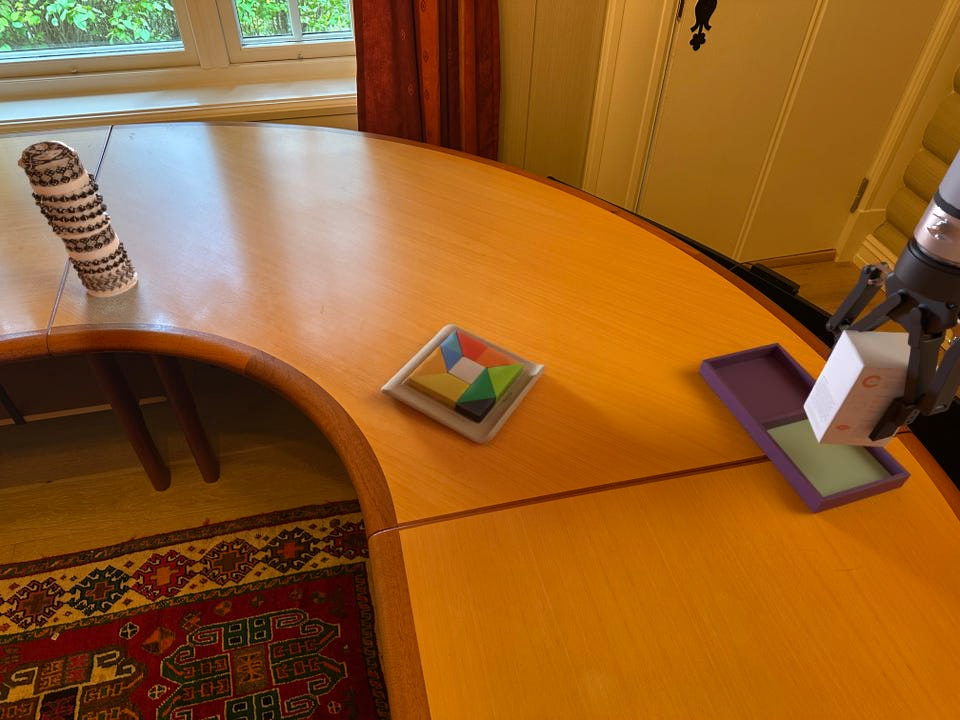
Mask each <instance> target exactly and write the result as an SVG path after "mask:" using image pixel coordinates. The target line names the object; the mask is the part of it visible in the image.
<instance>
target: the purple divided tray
mask: <svg viewBox="0 0 960 720" xmlns="http://www.w3.org/2000/svg"><path fill="white" fill-rule="evenodd" d="M698 374H699V375H700V376H701V378H702V379H703V381H705V382H706V384H707V385H708V386H709V387H710V389H711V390H712V391H713V392H714V393H715V395H716V396H717V397H718V398H719V400H720V401H721V402H722V403H723V405H724V406H725V407H726V408H727V409H728V411H729V412H730V413H731V414H732V416H734V418H735V419H736V420H737V422H738V423H739V424H740V425H741V426H742V428H743V429H744V430H745V431H746V432H747V434H748V435H749V436H750V437H751V438H752V440H753V441H754V442H755V443H756V445H757V446H758V447H759V448H760V450H762V452H763V453H764V454H765V456H766V457H767V458H768V459H769V461H771V463H772V464H773V465H774V467H775V468H776V469H777V470H778V471H779V473H780V474H781V475H782V476H783V478H785V480H786V481H787V482H788V484H789V485H790V486H791V487H792V489H793V490H794V491H795V492H796V493H797V495H798V496H799V497H800V498H801V499H802V501H803V502H804V503H805V504H806V506H807V507H808V508H809V509H810V510H811V512H812V513H813V514H819V513H821V512H825V511H828V510H832V509H835V508H838V507H841V506H844V505H849V504H850V503H851V504H852V503H855V502H858V501H861V500H864V499H867V498H870V497H873V496H877V495H880V494H883V493H886V492H889V491H892V490H896V489H900V488H901V487H903V486H904V484H905V483H906V482H907V481H908V480H909V478H910V477H911V476H912V474H911V473H910V472H909V471H908V470H907V469H906V468H905V467H904V466H903V464H901V463H900V462H899V461H898V460H897V459H896V458H895V457H894V456H893V455H892V454H891V453H890V452H889V451H888V450H887V449H886V447H877V446H858V445H839V444H820V443H819V442H818V440H817V437H816V435H815V433H814V431H813V428H812V426H811V423H810V421H809V419H808V416H807V414H806V412H805V409H804V404H805V402H806V400H807V399H808V397H809V395H810V393H811V391H812V389H813V387H814V385H815V384H816V382H817V379H815V378H814V377H813V376H812V374H810V372H808V370H806V369H805V368H804V366H803V365H801V364H800V363H799V362H798V361H797V359H795V358H794V357H793V356H792V355H791V354H790V353H789V352H788V351H787V350H786V349H785V348H784V347H783V346H782V345H781V343H779V342H774V343H769V344H765V345H761V346H756V347H752V348H748V349H744V350H739V351H734V352H730V353H726V354H723V355H718V356H712V357H709V358H705V359H702V361H701V363H700V366H699V370H698Z"/></svg>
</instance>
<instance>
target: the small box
mask: <svg viewBox="0 0 960 720" xmlns="http://www.w3.org/2000/svg"><path fill="white" fill-rule="evenodd" d="M908 336H909V333H908V332H896V331H895V332H893V331H864V332H859V331H850V330H844V331H843V333H842V335H841V337H840V339H839V341H838V342H837V344H836V346H835V348H834V350H833V352H832V354H831V356H830V357H829V359H828V361H827V360H826V363H825V365H824V366H823V368H822V370H821V372H820V374H819V376H818V378H817V379H816V381H817V382H816V384H815V385H814V387H813V389H812V391H811V393H810V395H809V397H808V399H807V400H806V402H805V404H804V409H805V412H806V414H807V416H808V419H809V421H810V423H811V426H812V428H813V431H814V433H815V435H816V437H817V440H818V442H819V443H820V444H839V445H858V446H877V447H884V448H886V447H887V446H888V445H889V443H890V442H891V441H892V439H893V438H894V437H895V435H896V434H897V432H898V431H899V430H900V428H901V427H898V429H897V430H896V431H895V433H894V434H893V435H892V436H891V437H888V438H884V439H881V440H877V441H874V442H873V441H872V440H871V439H870V438H869V437H868V436H869V435H870V433H871V432H872V430H873V429H874V427H875V426H876V425H877V423H878V422H879V420H880V419H881V417H882V416H883V414H884V413H885V411H886V410H887V409H888V407H889V406H890V404H891V403H892V401H893V400H894V398H898V397H902V396H904V389H905V382H906V376H907V369H908V362H909V355H910V348H911V347H910V346H909V345H908ZM938 366H939V364H937V368H936V371H937V369H938Z"/></svg>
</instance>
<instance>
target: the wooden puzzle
mask: <svg viewBox="0 0 960 720" xmlns="http://www.w3.org/2000/svg"><path fill="white" fill-rule="evenodd" d="M546 368H547V366H546V365H545V364H540V363H539V364H538V363H536V362H533V361H531V360H529V359H527V358H525V357H523V356H520V355H519V354H516V353H514V352H512V351H510V350H508V349H506V348H503V347H502V346H499V345H498V344H495V343H494V342H491V341H489V340H488V339H485V338H484V337H481V336H479V335H477V334H475V333H472V332H470V331H469V330H467V329H465V328H463V327H460V326H459V325H456V324H453V323H452V324H450V323H449V324H447V325H445V326H444V327H442V328H441V329H440V330H439V331H438V332H437V333H436V334H435V336H434V337H433V338H432V339H430V341H428V342H427V343H426V344H425V345H424V346H423V347H422V348H421V349H420V350H419V351H418V352H417V353H416V354H415V355H414V356H413V357H412V358H411V359H410V360H409V361H408V362H407V363H406V364H405V365H403V367H402V368H400V369H399V370H398V371H397V372H396V373H395V374H394V376H392V377H391V378H390V379H389V380H388V381H387V382H386V383H385V384H384V385H383V386H382V387H381V388H380V392H381V393H382V394H386V395H389V396H390V397H393V398H395V399H396V400H398V401H400V402H402V403H403V404H405V405H407V406H409V407H410V408H413V409H414V410H417V411H418V412H419V413H422V414H424V415H425V416H427V417H429V418H431V419H433V420H434V421H436V422H438V423H440V424H442V425H443V426H445V427H447V428H449V429H451V430H453V431H454V432H456V433H458V434H459V435H461V436H464V437H465V438H467V439H469V440H470V441H472V442H474V443H476V444H479V445H485V444H488V443H489V442H490V441H491V440H493V439H494V437H495V436H496V434H497V433H498V432H499V431H500V430H501V428H502V427H503V425H504V424H505V423H506V422H507V421H508V419H509V418H510V416H511V415H512V414H513V413H514V412H515V410H516V409H517V407H518V406H519V405H520V404H521V403H522V401H523V400H524V399H525V397H526V396H527V395H528V393H529V392H530V391H531V389H532V388H533V387H534V386H535V385H536V383H537V382H538V380H539V379H540V378H541V376H543V374H544V373H545V372H546Z"/></svg>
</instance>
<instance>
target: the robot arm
mask: <svg viewBox="0 0 960 720" xmlns="http://www.w3.org/2000/svg"><path fill="white" fill-rule="evenodd" d="M883 286H884V289H885V299H884V300H883V301H882V302H880V303H879V304H877V305H876V306H874V307H873V308H872V309H870V310H871V311H870V312H868V313H867V314H866V315H864V316H863V317H861V318H860V319H858V320H857V321H856V319H857V318H858V317H859V316H860V315H861V313H862V312H863V311H864V310H865V309H866V307H867V306H869V304H870V302H871V301H872V300H873V299H874V298H875V296H876V295H877V293H878V292H879V291H880V290H881V289H882V288H883ZM889 321H892V322H894V323H896V324H899V325H900V326H901V327H902V329H903V330H904V331H905V332H906V333H909V336H908V345H909V346H910V347H911V348H910V355H909V362H908V369H907V376H906V382H905V389H904V396H902V397H898V398H894V400H893V401H892V403H891V404H890V406H889V407H888V409H887V410H886V411H885V413H884V414H883V416H882V417H881V419H880V420H879V422H878V423H877V425H876V426H875V427H874V429H873V430H872V432H871V433H870V435H869V436H868V437H869V438H870V439H871V440H872V441H873V442H874V441H877V440H881V439H884V438H888V437H891V436H892V435H893V434H894V433H895V431H896V430H897V429H898V427H900V428H901V427H904V426H908V425H910V424H912V423H913V422H914V420H915V419H916V418H917V416H918V415H919V414H921V415H922V416H925V417H928V416H932V415H935V414H936V415H937V414H940V413H942V412H946V411H948V410H949V408H950V407H951V404H952V402H953V401H954V399H955V396H956V394H957V393H958V391H959V388H960V149H959V150H958V152H957V153H956V155H955V157H954V158H953V161H952V162H951V164H950V166H949V167H948V169H947V172H946V173H945V175H944V177H943V179H942V180H941V182H940V184H939V186H938V188H937V190H936V191H935V193H934V195H933V197H932V198H931V200H930V201H929V204H928V206H927V207H926V209H925V211H924V213H923V215H922V216H921V218H920V220H919V221H918V223H917V225H916V227H915V229H914V231H913V236H912V237H910V238H909V239H908V240H907V242H906V244H905V245H904V248H903V249H902V251H901V252H900V255H899V256H898V258H897V260H896V262H895V264H894V266H893V269H891V268H890V265H889V263H888V262H887V261H881V262H875V263H871V264H866V265H863V266H862V268H861V270H860V274H859V276H858V280H857V283H856V284H855V285H854V286H853V288H852V289H851V290H850V291H849V293H848V294H847V296H846V297H845V298H844V300H843V301H842V302H841V304H840V305H839V307H837V309H836V310H835V312H834V313H833V314H832V315H831V317H830V318H829V320H828V321H827V322H826V324H825V328H826V331H827V332H830V333H832V334H833V336H834V338H833V341H834V343H833V345H832V347H831V348H830V351H829V353H828V354H827V356H826V362H827V361H828V359H829V357H830V356H831V354H832V352H833V350H834V348H835V346H836V344H837V342H838V341H839V339H840V337H841V335H842V333H843V331H844V330H850V331H859V332H864V331H873V332H875V331H876V330H877V329H878V328H880V327H881V326H883V325H884V324H887V322H889ZM947 330H951V332H952V336H951V337H950V339H948V341H947V344H948V346H949V347H948V348H947V349H946V351H945V352H944V354H943V356H942V358H941V360H940V363H939V364H938V362H939V361H938V360H939V356H940V350H941V346H942V345H943V343H944V342H945V341H946V336H947ZM937 365H938V369H937V371H936V368H937Z"/></svg>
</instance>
